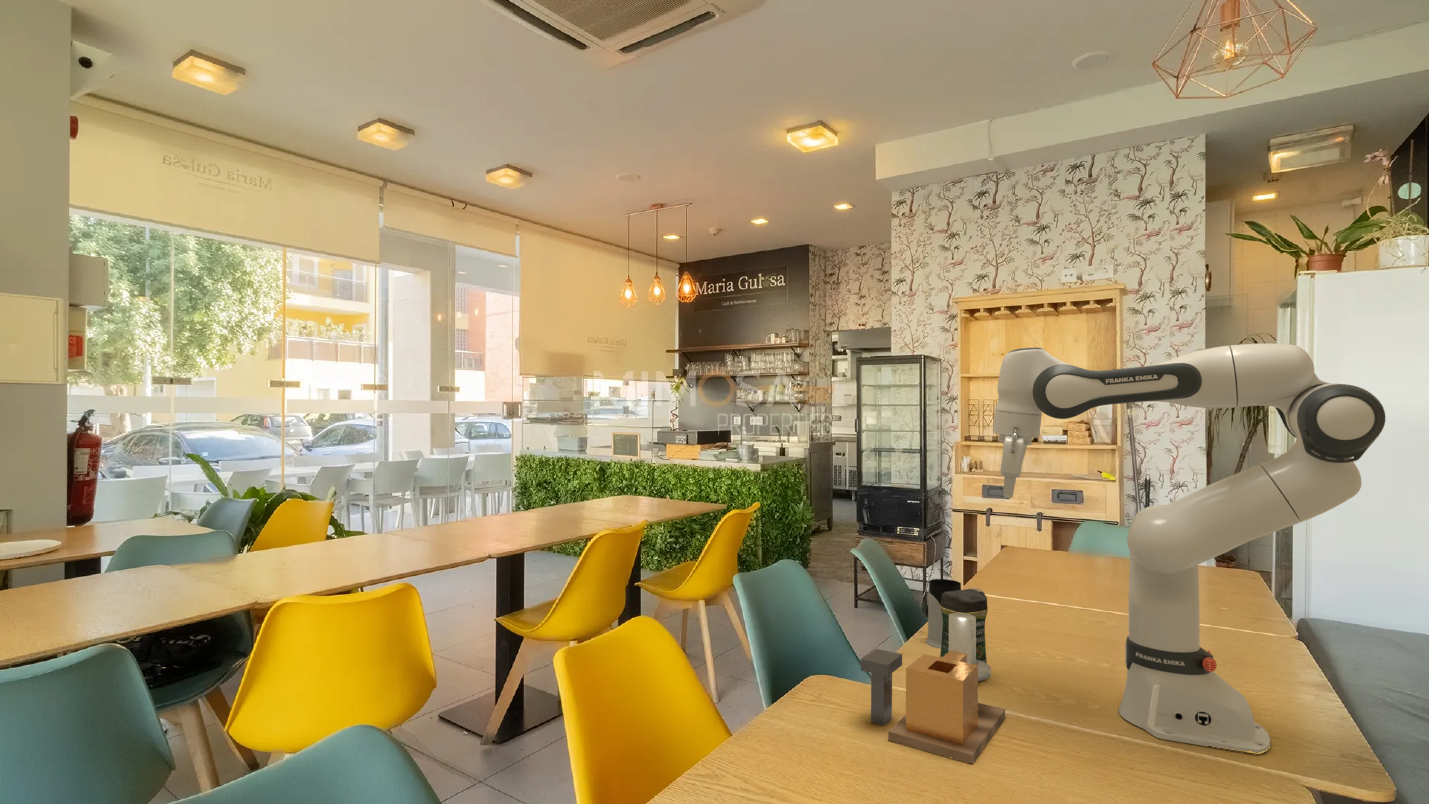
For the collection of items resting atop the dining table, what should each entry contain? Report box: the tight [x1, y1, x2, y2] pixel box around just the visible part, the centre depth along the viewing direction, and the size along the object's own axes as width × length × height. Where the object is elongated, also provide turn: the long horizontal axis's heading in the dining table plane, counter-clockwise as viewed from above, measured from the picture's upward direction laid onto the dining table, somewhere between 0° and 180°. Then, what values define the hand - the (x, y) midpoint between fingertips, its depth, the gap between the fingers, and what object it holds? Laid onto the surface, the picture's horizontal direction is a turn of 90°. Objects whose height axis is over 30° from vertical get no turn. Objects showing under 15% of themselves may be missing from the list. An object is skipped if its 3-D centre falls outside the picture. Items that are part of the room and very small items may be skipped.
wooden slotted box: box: [905, 613, 992, 745], centre depth 127 cm, size 22×10×16 cm, turn 145°
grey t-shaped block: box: [860, 648, 903, 726], centre depth 128 cm, size 7×5×12 cm
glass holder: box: [925, 578, 985, 649], centre depth 172 cm, size 9×14×15 cm, turn 88°
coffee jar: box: [939, 588, 989, 664], centre depth 150 cm, size 10×8×19 cm
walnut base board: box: [887, 702, 1006, 765], centre depth 125 cm, size 22×14×2 cm, turn 145°
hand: (1008, 493), depth 144 cm, fingers open, 8 cm apart
